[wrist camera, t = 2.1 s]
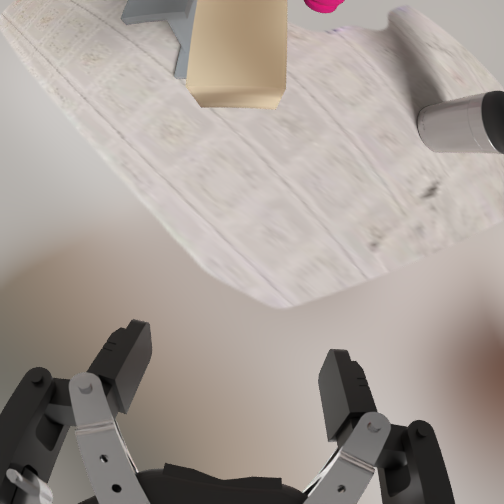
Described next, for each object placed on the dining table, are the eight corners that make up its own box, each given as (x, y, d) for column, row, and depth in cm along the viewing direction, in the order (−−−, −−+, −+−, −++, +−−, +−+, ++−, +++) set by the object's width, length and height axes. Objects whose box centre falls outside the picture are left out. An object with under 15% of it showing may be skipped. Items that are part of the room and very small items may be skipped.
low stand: (232, 10, 33) (224, -77, 11) (217, 85, 37) (190, 11, 15) (193, 10, 32) (162, -72, 10) (174, 84, 37) (115, 19, 15)
